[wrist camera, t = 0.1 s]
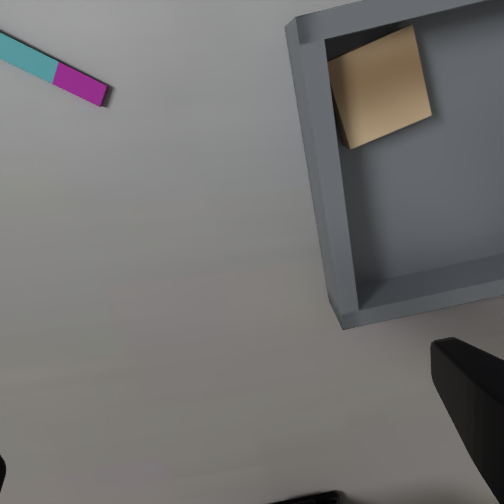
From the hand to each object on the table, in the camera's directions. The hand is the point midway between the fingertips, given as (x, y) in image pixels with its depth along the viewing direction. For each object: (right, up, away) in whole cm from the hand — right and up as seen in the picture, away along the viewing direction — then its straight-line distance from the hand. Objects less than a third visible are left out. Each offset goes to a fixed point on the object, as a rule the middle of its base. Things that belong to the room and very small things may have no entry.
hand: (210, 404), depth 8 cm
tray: (+11, +8, +13) cm, 19 cm away
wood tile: (+7, +11, +11) cm, 17 cm away
